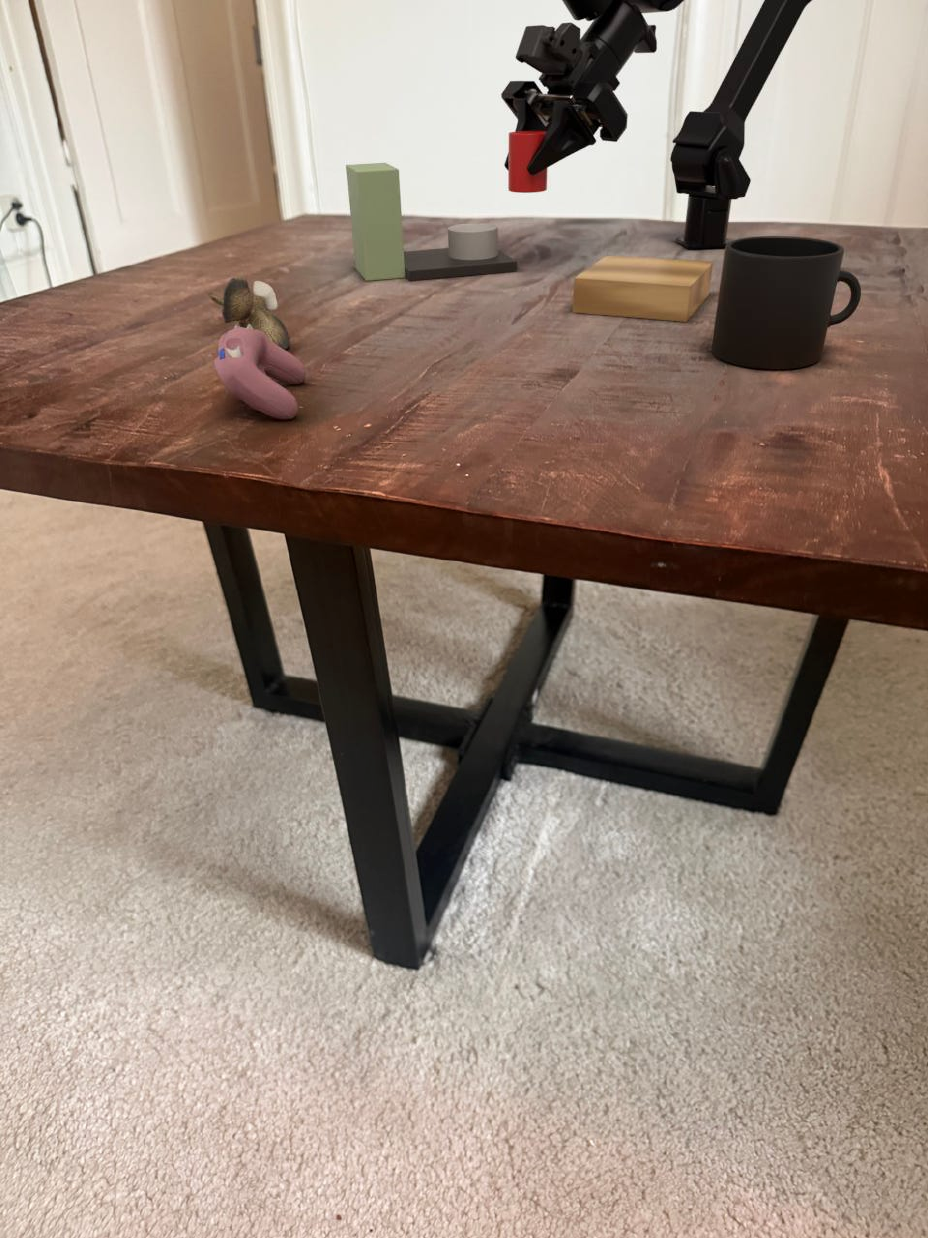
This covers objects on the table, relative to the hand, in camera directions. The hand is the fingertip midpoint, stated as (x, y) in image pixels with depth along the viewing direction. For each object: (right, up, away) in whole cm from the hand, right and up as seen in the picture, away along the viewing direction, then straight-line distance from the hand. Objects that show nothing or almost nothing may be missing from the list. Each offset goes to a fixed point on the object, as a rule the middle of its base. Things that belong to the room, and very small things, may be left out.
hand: (517, 170), depth 99 cm
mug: (+22, -29, -23) cm, 43 cm away
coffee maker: (-10, -7, +10) cm, 16 cm away
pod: (+1, -1, +2) cm, 3 cm away
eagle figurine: (-27, -26, -17) cm, 41 cm away
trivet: (+13, -18, -7) cm, 24 cm away
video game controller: (-22, -35, -30) cm, 52 cm away
